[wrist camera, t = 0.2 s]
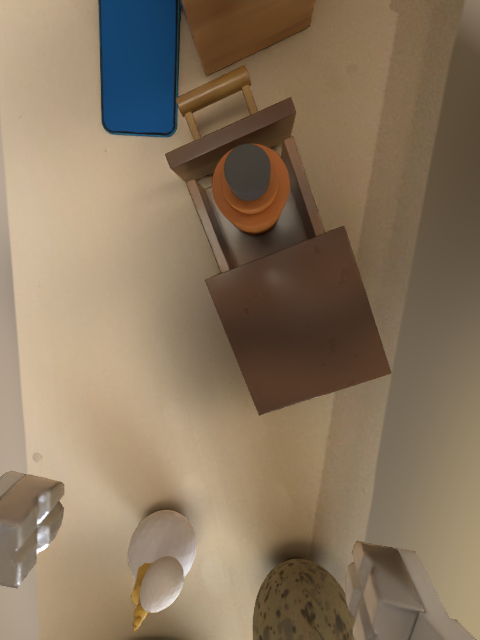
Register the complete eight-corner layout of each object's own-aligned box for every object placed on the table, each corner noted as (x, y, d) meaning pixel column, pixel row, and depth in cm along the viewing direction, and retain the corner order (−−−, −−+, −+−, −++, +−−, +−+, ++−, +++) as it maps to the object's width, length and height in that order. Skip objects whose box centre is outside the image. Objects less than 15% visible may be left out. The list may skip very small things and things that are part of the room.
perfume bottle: (138, 542, 41) (89, 657, 30) (146, 475, 39) (96, 570, 28) (197, 554, 41) (170, 674, 29) (207, 487, 39) (183, 587, 27)
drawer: (165, 127, 31) (142, 98, 25) (270, 78, 29) (271, 36, 24) (226, 284, 33) (218, 291, 28) (325, 246, 32) (339, 245, 26)
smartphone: (101, 132, 32) (96, -59, 28) (106, 136, 33) (101, -49, 29) (176, 137, 31) (180, -57, 28) (179, 140, 32) (183, -48, 29)
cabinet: (217, 274, 34) (204, 280, 27) (325, 231, 32) (344, 225, 25) (260, 382, 36) (259, 416, 29) (363, 347, 34) (391, 373, 27)
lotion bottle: (223, 195, 30) (183, 139, 15) (270, 176, 30) (276, 96, 15) (241, 243, 31) (219, 234, 16) (287, 225, 31) (310, 197, 15)
